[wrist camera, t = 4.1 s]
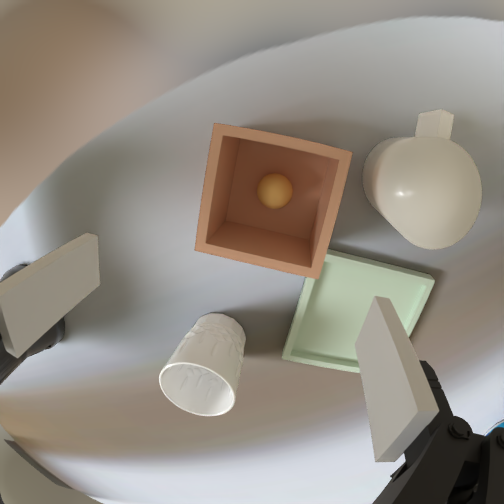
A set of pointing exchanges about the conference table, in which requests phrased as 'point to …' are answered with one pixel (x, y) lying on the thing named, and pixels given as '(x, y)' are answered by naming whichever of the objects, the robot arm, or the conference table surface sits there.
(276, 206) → the ball
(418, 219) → the mug
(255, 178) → the planter
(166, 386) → the white cup
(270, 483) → the conference table surface
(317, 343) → the tray
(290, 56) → the conference table surface
